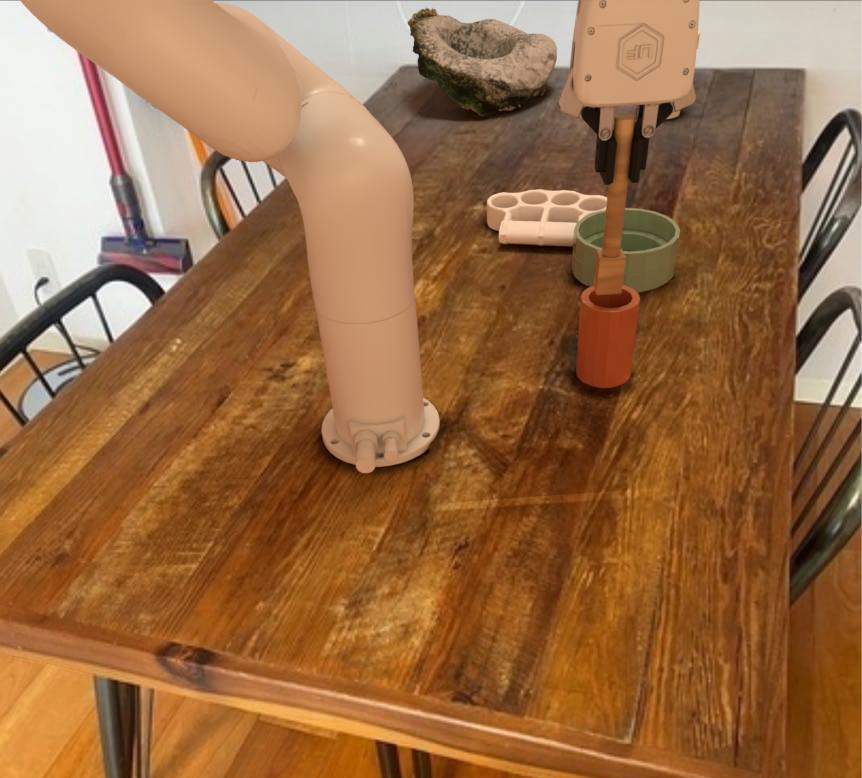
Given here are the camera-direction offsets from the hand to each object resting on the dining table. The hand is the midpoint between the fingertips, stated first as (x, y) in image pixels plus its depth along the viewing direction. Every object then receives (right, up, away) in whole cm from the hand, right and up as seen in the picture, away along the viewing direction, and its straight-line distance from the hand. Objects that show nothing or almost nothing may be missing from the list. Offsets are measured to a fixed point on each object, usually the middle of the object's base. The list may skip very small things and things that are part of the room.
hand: (618, 177), depth 81 cm
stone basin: (-7, +54, +88) cm, 104 cm away
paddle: (+1, -8, +8) cm, 12 cm away
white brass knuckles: (-1, +11, +44) cm, 45 cm away
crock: (+2, -16, +16) cm, 22 cm away
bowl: (+8, +1, +33) cm, 34 cm away
